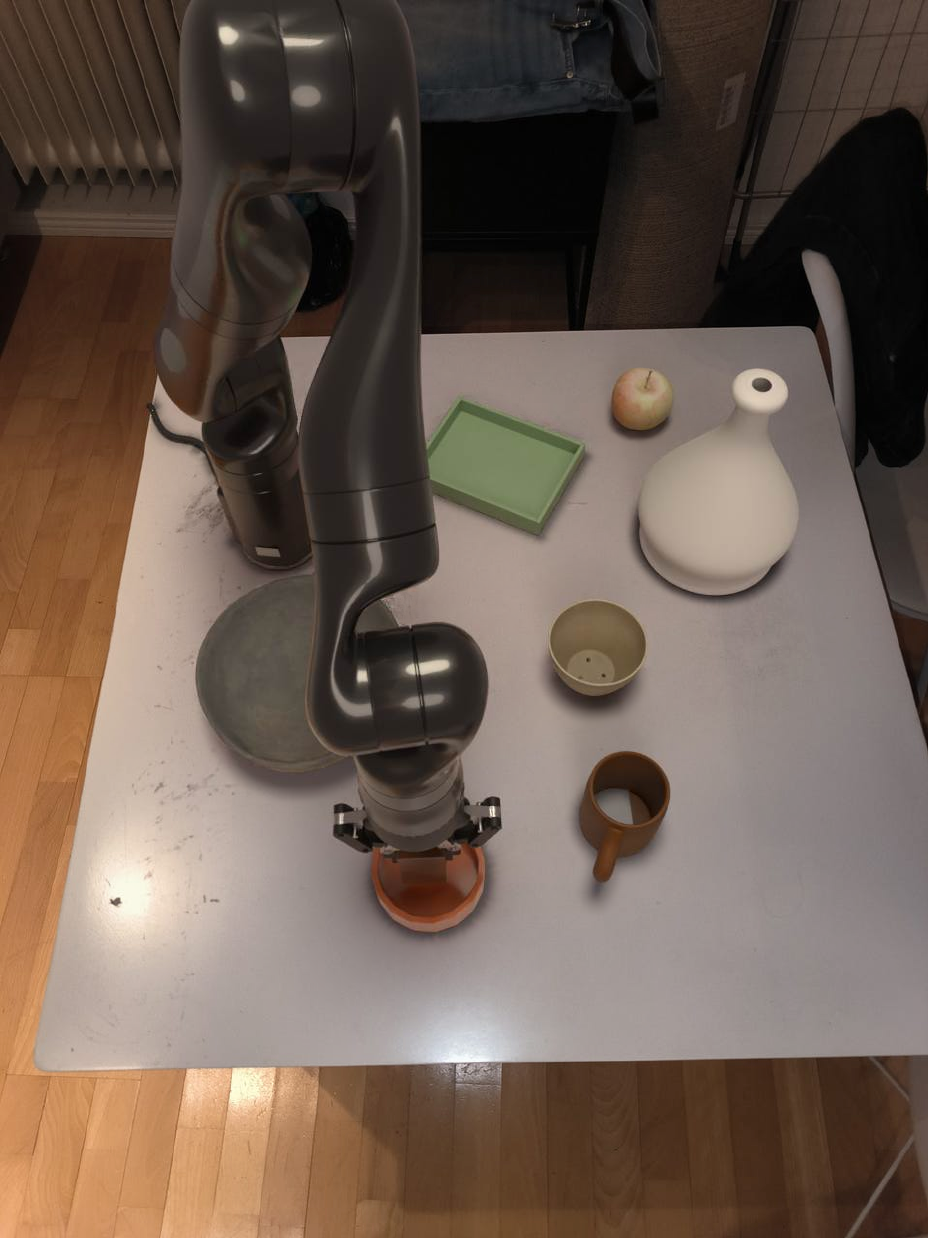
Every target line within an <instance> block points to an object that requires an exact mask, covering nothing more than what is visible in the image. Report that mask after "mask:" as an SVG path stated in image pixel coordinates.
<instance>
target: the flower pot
mask: <svg viewBox="0 0 928 1238" xmlns="http://www.w3.org/2000/svg"><path fill="white" fill-rule="evenodd" d="M547 635H548V636H547V646H548V654H549V657H550V660H551V663H552V666H553V667H554V670H555V672H556V673H557V675H558V676H559V678H560V679H561V680H562V681H563V682H564V683H565V685H567V686H568V687H569V688H570V689H572V690H574V691H575V692H577V693H579V694H582V695H585V696H591V697H592V696H593V697H594V696H595V697H597V696H599V697H600V696H604V695H609V694H611V693H613V692H616V691H617V690H620V689H621V688H623V687H624V686H626V685H627V684H628V683H630V682H631V681H632V680H633V679H634V677H635V676H636V675H637V674H638V673H639V671H640V670H641V668H642V667H643V665H644V664H645V661H646V660H647V655H648V651H649V639H648V635H647V632H646V629H645V627H644V624H643V623H642V621H641V620H640V618H638V616H637V615H636V614H634V612H632V611H631V610H630V609H629V608H627V607H626V606H624V605H622V604H621V603H618V602H615V601H612V600H608V599H603V598H588V599H582V600H579V601H575V602H573V603H570V604H569V605H567V606H566V607H564V608H563V609H561V610H560V611H559V612H558V614H556V616H555V617H554V618H553V620H552V622H551V625H550V626H549V630H548V634H547Z"/></svg>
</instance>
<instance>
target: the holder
mask: <svg viewBox="0 0 928 1238" xmlns="http://www.w3.org/2000/svg"><path fill="white" fill-rule="evenodd" d="M370 875H371V879H372V882H373V886H374V890H375V894H376V896H377V899H378V901H379V903H380V905H381V906H382V908H383V909H384V910H385V912H386V913H387V914H388V915H389V916H390V918H391V919H392V920H393V921H394V922H396V923H398V924H400V925H401V926H403V927H406V928H408V929H409V930H411V931H415V932H424V933H425V932H427V933H438V932H441V931H444V930H448V929H450V928H453V927H455V926H456V927H457V925H459V924H460V923H461V922H462V921H464V920H465V919H466V918H467V917H468V916H469V915H471V914H472V913H473V911H474V910H475V908H476V906H477V905H478V902H479V900H480V899H481V896H482V894H483V893H484V890H485V889H484V888H485V875H486V857H485V854H484V851H483V848H482V846H481V847H478V848H472V847H468V843H465V844H462V845H461V854H460V855H453V861H447V882H431V883H409V884H403V882H402V878H401V874H400V870H399V866H398V863H392V859H391V858H385V857H384V855H383V853H381V852H380V848H377V847H374V848H373V851H372V859H371V867H370Z"/></svg>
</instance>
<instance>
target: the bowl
mask: <svg viewBox="0 0 928 1238" xmlns="http://www.w3.org/2000/svg"><path fill="white" fill-rule="evenodd" d="M314 605H315V576H314V573H312V574H310V573H309V574H300V575H293V576H287V577H283V578H278V579H275V580H272V581H270V582H269V581H268V582H267V583H264V584H262V585H259V586H257V587H255V588H254V589H251V590H249V591H248V592H247V593H245V594H243V595H242V596H241V597H238V598H237V599H235V600H234V601H233V602H232V603H231V604H230V605H228V607H227V608H226V609H224V610H223V611H222V612H221V613H220V615H219V616H218V617H217V618H216V620H215V621H214V622H213V624H211V627H210V628H209V630H207V633H206V635H205V636H204V638H203V640H202V643H201V645H200V646H199V650H198V654H197V658H196V663H195V670H194V672H195V675H194V681H195V688H196V689H195V690H196V693H197V699H198V701H199V705H200V708H201V710H202V713H203V714H204V717H205V718H206V720H207V722H208V723H209V725H210V726H211V728H212V729H213V731H214V732H215V733H216V735H218V737H219V738H220V739H221V740H222V742H223V743H224V744H226V745H227V747H229V748H230V749H231V750H232V751H233V752H234V753H236V754H237V755H238V756H239V757H241V758H243V759H244V760H247V761H249V762H251V763H253V764H255V765H256V766H259V767H261V768H265V769H268V770H270V771H277V772H284V773H305V772H310V771H315V770H320V769H323V768H326V767H329V766H332V765H334V764H336V763H339V762H340V761H342V760H344V759H347V758H348V757H349V756H341V755H337V754H335V753H333V752H331V751H329V750H328V749H327V748H326V747H324V746H323V745H322V744H321V743H320V742H319V740H318V739H317V738H316V737H315V735H314V734H313V732H312V730H311V728H310V726H309V724H308V721H307V717H306V712H305V702H304V695H305V681H306V673H307V666H308V659H309V653H310V646H311V639H312V632H313V620H314ZM393 627H400V625H399V623H398V621H397V620H396V617H395V616H394V613H393V612H392V610H391V609H390V608H389V606H387V604H386V603H385V602H384V601H383V599H381V600H379V601H378V602H376V603H374V604H372V605H371V606H369V607H368V608H367V609H366V610H365V611H364V613H363V614H362V615H361V617H360V619H359V621H358V623H357V626H356V631H357V632H366V631H372V630H379V629H386V628H393Z"/></svg>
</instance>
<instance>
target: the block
mask: <svg viewBox="0 0 928 1238" xmlns="http://www.w3.org/2000/svg"><path fill="white" fill-rule="evenodd" d="M397 861H398V866H399V870H400V874H401V878H402V882H403V884H409V883H431V882H447V861H446V856H445V848H442V849H439V848H438V847H437V846H436V847H434V848H432V849H429V850H425V851H419V852H408V851H403V850H400V851H398V850H397Z"/></svg>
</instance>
